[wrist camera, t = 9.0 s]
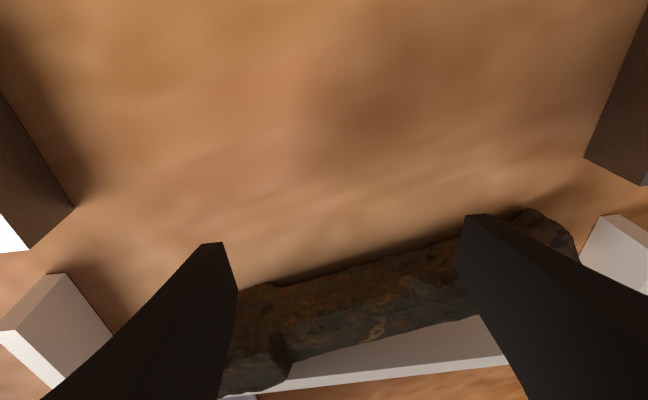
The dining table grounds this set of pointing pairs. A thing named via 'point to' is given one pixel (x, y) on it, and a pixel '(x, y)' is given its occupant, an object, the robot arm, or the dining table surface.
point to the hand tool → (356, 307)
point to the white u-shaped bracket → (323, 370)
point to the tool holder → (53, 206)
